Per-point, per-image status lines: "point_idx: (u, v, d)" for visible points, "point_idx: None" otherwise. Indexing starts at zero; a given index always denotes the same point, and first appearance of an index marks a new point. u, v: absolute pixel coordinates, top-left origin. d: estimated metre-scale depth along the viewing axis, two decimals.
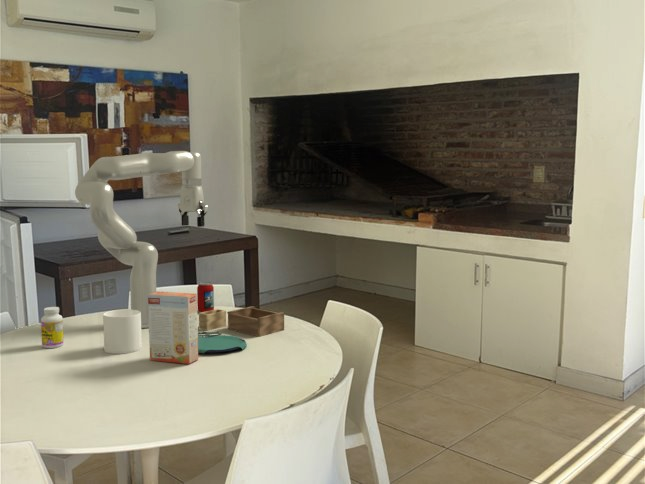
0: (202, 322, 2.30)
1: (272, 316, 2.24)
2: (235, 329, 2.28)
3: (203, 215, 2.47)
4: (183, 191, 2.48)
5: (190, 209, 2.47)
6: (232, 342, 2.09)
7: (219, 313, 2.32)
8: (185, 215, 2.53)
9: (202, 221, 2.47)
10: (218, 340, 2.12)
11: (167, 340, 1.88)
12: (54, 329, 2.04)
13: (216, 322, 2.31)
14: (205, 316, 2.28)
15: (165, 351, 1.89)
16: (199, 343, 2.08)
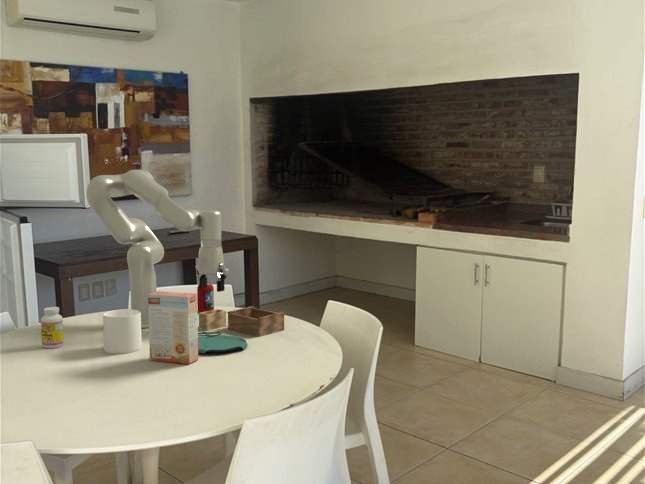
0: (202, 322, 2.30)
1: (272, 316, 2.24)
2: (235, 329, 2.28)
3: (223, 279, 2.27)
4: (202, 252, 2.29)
5: (209, 272, 2.27)
6: (233, 342, 2.09)
7: (219, 313, 2.32)
8: (203, 277, 2.34)
9: (222, 285, 2.28)
10: (219, 340, 2.12)
11: (167, 340, 1.88)
12: (54, 329, 2.04)
13: (216, 322, 2.31)
14: (205, 316, 2.28)
15: (165, 351, 1.89)
16: (200, 343, 2.08)
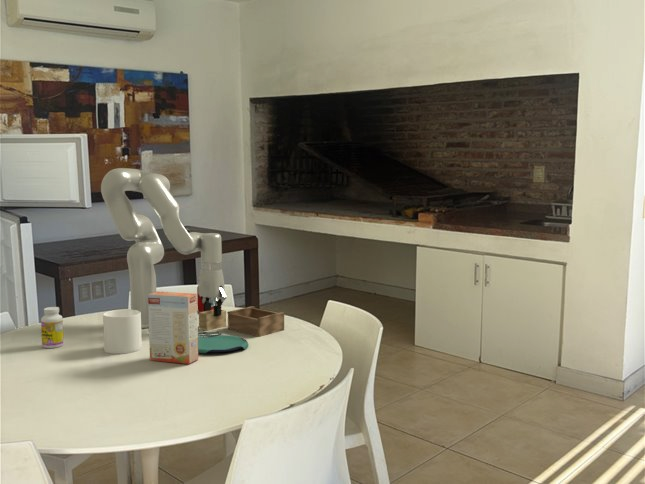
0: (202, 322, 2.30)
1: (272, 316, 2.24)
2: (235, 329, 2.28)
3: (220, 305, 2.30)
4: (202, 275, 2.30)
5: (209, 295, 2.28)
6: (233, 342, 2.09)
7: None
8: (207, 303, 2.34)
9: (219, 310, 2.30)
10: (219, 340, 2.12)
11: (167, 340, 1.88)
12: (54, 329, 2.04)
13: (216, 322, 2.31)
14: (205, 315, 2.28)
15: (165, 351, 1.89)
16: (200, 343, 2.08)
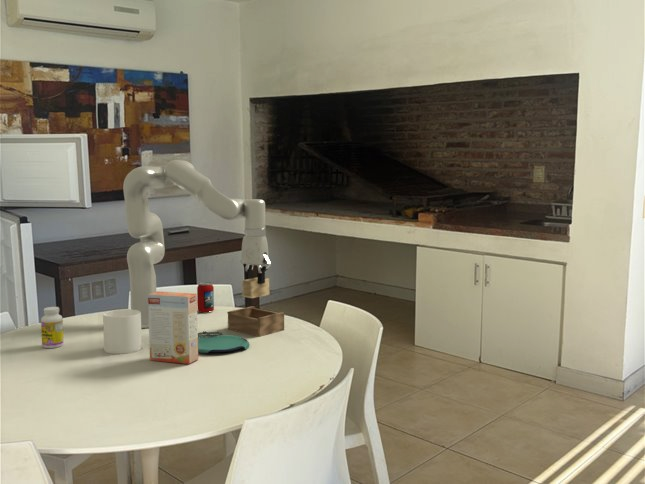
0: (246, 289, 2.25)
1: (272, 316, 2.24)
2: (235, 329, 2.28)
3: (264, 272, 2.25)
4: (246, 241, 2.25)
5: (254, 262, 2.24)
6: (234, 342, 2.09)
7: None
8: (250, 271, 2.29)
9: (263, 278, 2.25)
10: (220, 340, 2.12)
11: (167, 340, 1.88)
12: (54, 329, 2.04)
13: (260, 290, 2.26)
14: (249, 283, 2.23)
15: (165, 351, 1.89)
16: (201, 343, 2.08)
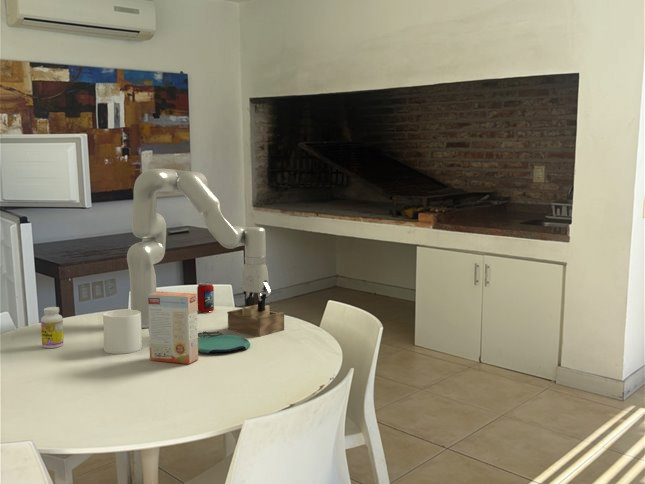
0: None
1: (272, 316, 2.24)
2: (235, 329, 2.28)
3: (264, 300, 2.26)
4: (246, 269, 2.26)
5: (254, 290, 2.25)
6: (235, 342, 2.10)
7: None
8: (251, 298, 2.30)
9: (263, 305, 2.26)
10: (220, 340, 2.12)
11: (167, 340, 1.88)
12: (54, 329, 2.04)
13: None
14: (249, 310, 2.25)
15: (165, 351, 1.89)
16: (202, 343, 2.08)
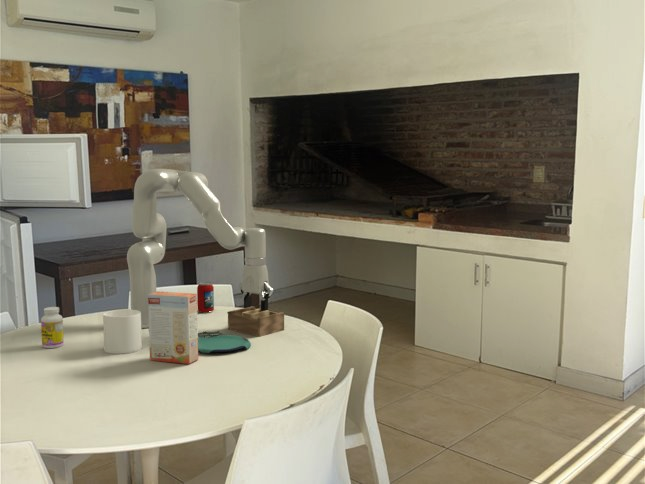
0: None
1: (272, 316, 2.24)
2: (235, 329, 2.28)
3: (267, 299, 2.25)
4: (246, 270, 2.26)
5: (254, 291, 2.25)
6: (235, 342, 2.10)
7: (262, 313, 2.28)
8: (248, 296, 2.31)
9: (266, 305, 2.25)
10: (221, 340, 2.12)
11: (167, 340, 1.88)
12: (54, 329, 2.04)
13: None
14: (249, 315, 2.25)
15: (165, 351, 1.89)
16: (202, 343, 2.08)
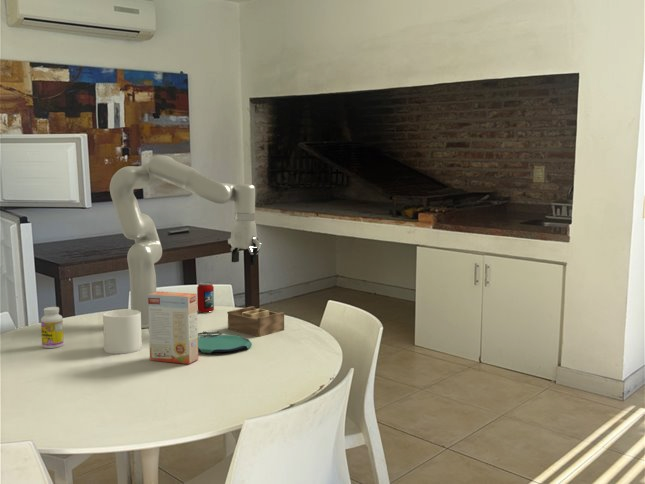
0: None
1: (272, 316, 2.24)
2: (235, 329, 2.28)
3: (256, 253, 2.28)
4: (235, 225, 2.30)
5: (242, 246, 2.28)
6: (236, 341, 2.10)
7: (262, 313, 2.28)
8: (235, 251, 2.35)
9: (254, 259, 2.28)
10: (221, 340, 2.12)
11: (167, 340, 1.88)
12: (54, 329, 2.04)
13: None
14: (249, 315, 2.25)
15: (165, 351, 1.89)
16: (203, 343, 2.08)
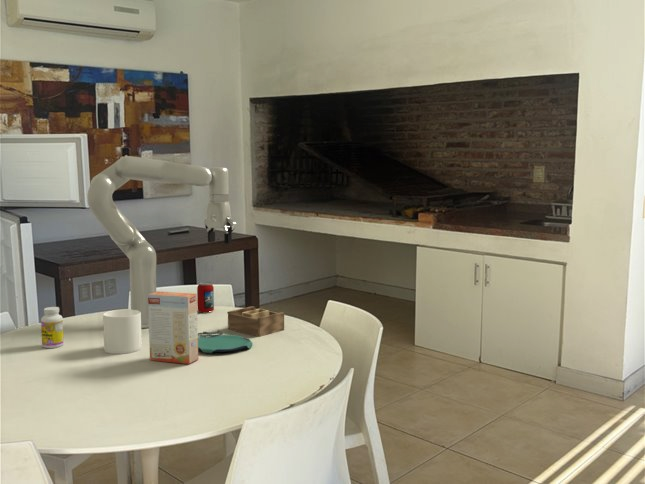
0: None
1: (272, 316, 2.24)
2: (235, 329, 2.28)
3: (230, 232, 2.41)
4: (210, 207, 2.42)
5: (217, 226, 2.41)
6: (237, 341, 2.10)
7: (262, 313, 2.28)
8: (211, 231, 2.47)
9: (229, 238, 2.41)
10: (222, 340, 2.12)
11: (167, 340, 1.88)
12: (54, 329, 2.04)
13: None
14: (249, 315, 2.25)
15: (165, 351, 1.89)
16: (204, 343, 2.08)
